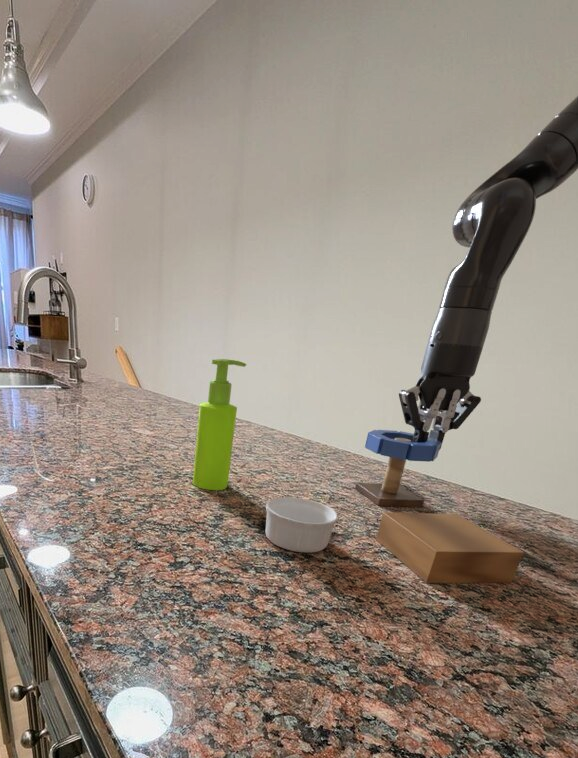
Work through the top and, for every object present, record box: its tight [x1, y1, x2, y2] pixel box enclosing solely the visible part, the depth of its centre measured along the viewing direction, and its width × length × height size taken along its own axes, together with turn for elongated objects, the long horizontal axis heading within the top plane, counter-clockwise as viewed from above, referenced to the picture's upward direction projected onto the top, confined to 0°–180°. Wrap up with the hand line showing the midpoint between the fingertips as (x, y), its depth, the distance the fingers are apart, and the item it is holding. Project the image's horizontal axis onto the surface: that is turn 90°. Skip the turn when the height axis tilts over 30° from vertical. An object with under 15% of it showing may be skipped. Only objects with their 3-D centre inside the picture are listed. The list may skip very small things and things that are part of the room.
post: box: [354, 438, 425, 508], centre depth 75 cm, size 8×8×10 cm
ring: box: [364, 429, 442, 463], centre depth 73 cm, size 11×11×2 cm
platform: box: [375, 511, 525, 584], centre depth 55 cm, size 11×11×4 cm
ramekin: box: [264, 496, 339, 554], centre depth 57 cm, size 9×9×4 cm
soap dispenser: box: [192, 358, 247, 491], centre depth 72 cm, size 6×7×20 cm
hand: (423, 452), depth 74 cm, fingers closed on ring, 2 cm apart
